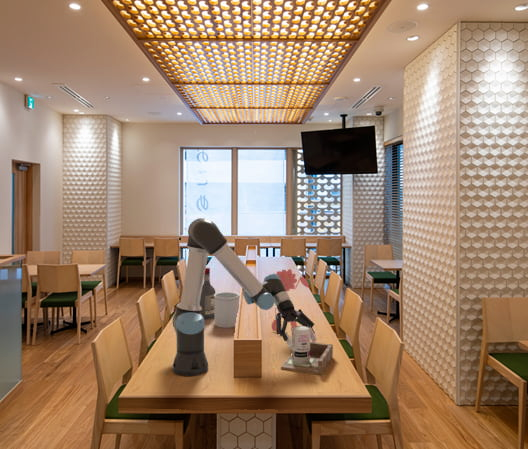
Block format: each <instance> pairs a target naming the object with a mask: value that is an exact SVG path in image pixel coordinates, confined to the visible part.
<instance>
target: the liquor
mask: <svg viewBox="0 0 528 449" xmlns="http://www.w3.org/2000/svg"><path fill="white" fill-rule="evenodd" d="M210 270H211V268H210V267H206V269H205V275H204V281H203V286H202V292H201V298H200V306H201V308H202V312H201V315H202V316H203V318H204V320H210V319H213V318H214V294H216V289H215V288H214V286H213V285H212V284H211V281H210V280H211V279H210V278H211V276H210V274H211V271H210Z"/></svg>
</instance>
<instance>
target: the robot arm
mask: <svg viewBox="0 0 528 449" xmlns="http://www.w3.org/2000/svg"><path fill="white" fill-rule="evenodd" d="M187 234H188V236H187V241H186V242H187V243H186V247H187V250H189V252H188V257H187V264H186V268H185V275H184V280H183V286H182V292H181V299H180V302H178V303H177V304H176V307H175V313H174V314H173V316H172V326H173V329H174V332H175V334H176V354H175V355H174V356H175V357H174V359H173V360H174V361H173V364H172V373H174V374H175V375H177V376H180V377H195V376H200V375H203V374H206V372H208V371H209V362H208V358H207V356H206V353H205V324H206V323H205V319H204V318H203V316H202V315H201V312H202V308H201V306H200V298H201V292H202V286H203V284H204V275H205V269H206V268H207V263H208V257H209V255H210V256H214V257H215V259H216V260H217V261H218V262H219V263H220V264H221V265H222V267H223V268H224V269H225V270H226V271H227V272H228V274H230V276H231V277H232V278H233V279H234V280H235V281H236V282H237V284H238V285H239V286H240V287H241V288H242V289H243V292H242V293H243V299H244V301H245V302H246V304H247V305H252V304H255V305H256V306H258V307H259V309H261V310H264V311H268V310H271V308H273V307H274V305H275V307H276V308H277V309H276V310H277V311H278V312H276V316H275V319H276V320H277V329H276V335H279V337H282V339H283V341H284V342H286V345H287V346H288V349H292V346H293V343H292V338H290V335H289V333H288V331H286V330H287V326H288V323H290V322H291V321H292V322H293V321H295V322H296V323H298V324H299V325H300V326H306V327H308V328H309V330H310V341H311V342H313V343H316V342H317V340H318V339H317V337H316V334H315V331H314V328H313V327H314V326H315V323H314V322H313V320H311V319H310V318H309V317H308V316H307V315H306V314H305V313H304V312H303V311H302V309H300V308H299V309H298V310H296V309H295V305H294V304H293V301H292V300H291V297H290V295H289V293H288V291H286V290H285V287H284V285H283V283H282V281H281V279H280V277H279V276H278V275H277V273H275V272H274V273H270V274H268V275H266V276H265V277H264V279H263V281H262V282H260V281H259V280H258V278H257V276H255V274H254V273H253V272H252V271H251V270H250V269H249V268H248V266H247V265H246V264H245V263H244V262H243V261H242V260H241V258H240V257H239V256H238V255H237V254H236V253H235V251H234V250H233V249H232V248H231V247H230V246H229V244H228V239H227V238H226V237H225V236H224V235H223V233H222V232H221V231H220V229H219V227H218V226H217V224H216V223H215V222H213V221H211V220H209V219H207V218H204V217H203V218H202V217H201V218H200V217H199V218H196V219H195V220H194V219H193V221H192V222H191V223H190V224H189V226H188V229H187ZM282 319H283V321H282Z"/></svg>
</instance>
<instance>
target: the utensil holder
mask: <svg viewBox="0 0 528 449" xmlns="http://www.w3.org/2000/svg"><path fill="white" fill-rule="evenodd" d="M240 297H241V295H240V293H239V292H234V291H222V292H219V291H218V292H215V294H214V317H213V318H214V326H215V327H218V328H222V329H223V328H225V329H228V328H234V327H236V326H235V323H236V317H237V313H238V310H239V311H240Z"/></svg>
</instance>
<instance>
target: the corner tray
mask: <svg viewBox="0 0 528 449" xmlns="http://www.w3.org/2000/svg"><path fill="white" fill-rule="evenodd" d="M333 349H334V346H333V344H330V343H329V344H328V343H323V342H322V343H321V342H315V343H313V342H312V341H310V361H309V362H308V363H305V364H297V363H294V362H293V361H292V359H291V355H289V357H288V358H287V359H286V360H285V361H284V362H283V364H282V365H281V366H280V369H281V370H285V369H287V370H286V371H292V370H293V372H299V371H300V372H299V373H305V372H307V373H306V374H312V373H314V374H313V375H319V374H321V375H323V374H324V373H325V371H326V369H327V367H328V366H329V364H330V363H331V361H330V360H332V359H333V354H334V352H333ZM331 358H332V359H331ZM328 363H329V364H328ZM327 365H328V366H327ZM325 368H326V369H325ZM322 373H323V374H322ZM321 375H320V376H321Z"/></svg>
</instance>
